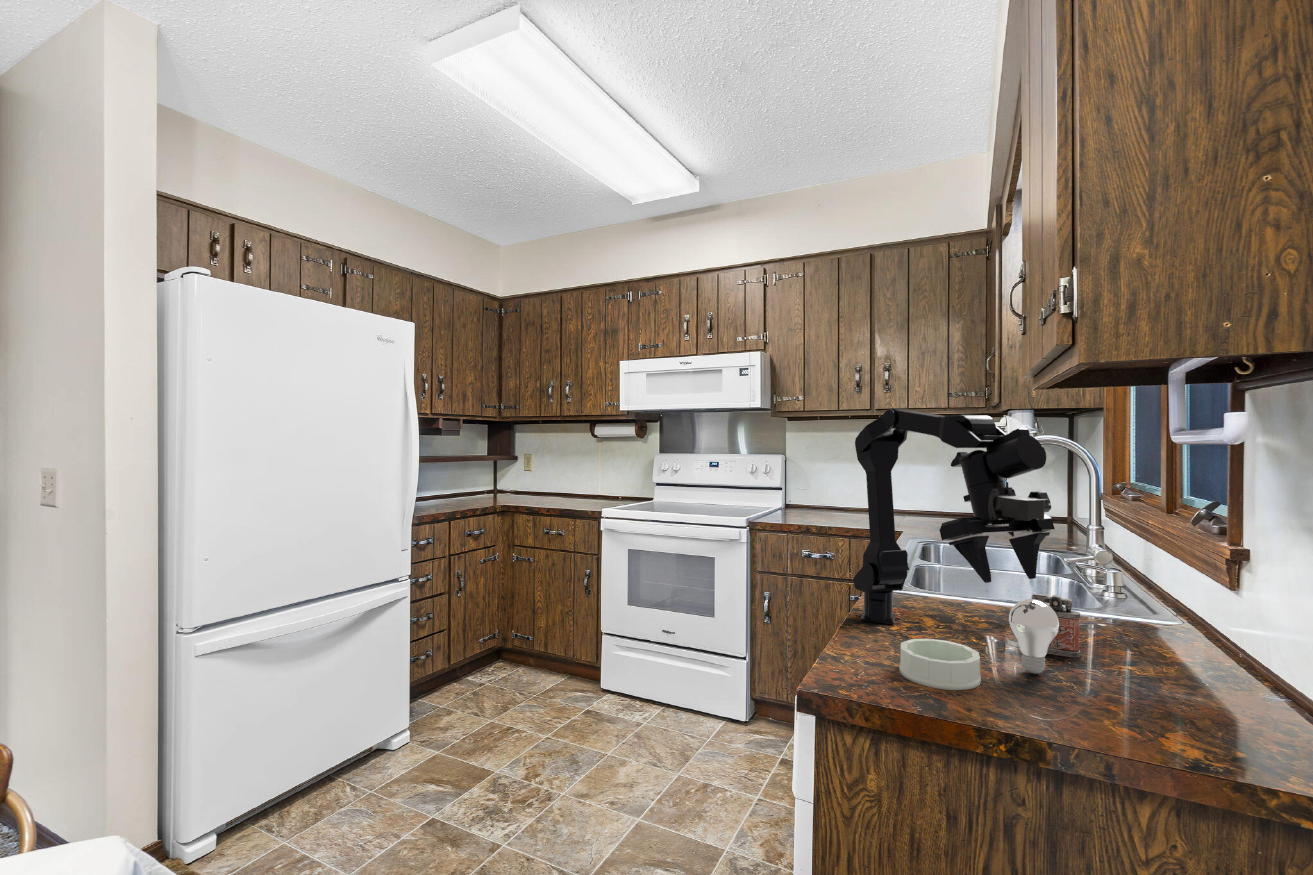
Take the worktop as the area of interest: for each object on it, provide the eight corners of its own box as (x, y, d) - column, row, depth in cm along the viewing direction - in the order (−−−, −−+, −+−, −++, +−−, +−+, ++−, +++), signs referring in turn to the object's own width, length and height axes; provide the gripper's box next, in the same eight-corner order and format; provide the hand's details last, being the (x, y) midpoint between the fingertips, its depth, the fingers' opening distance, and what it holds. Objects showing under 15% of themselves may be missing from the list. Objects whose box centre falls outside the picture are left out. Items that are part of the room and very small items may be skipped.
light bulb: (1066, 683, 97) (1067, 606, 97) (1017, 680, 99) (1017, 603, 99) (1048, 667, 104) (1048, 595, 104) (1002, 664, 105) (1002, 592, 105)
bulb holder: (900, 658, 108) (900, 634, 108) (977, 668, 103) (977, 644, 103) (898, 682, 97) (898, 656, 97) (983, 695, 93) (984, 668, 93)
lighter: (1080, 653, 111) (1080, 596, 111) (1080, 658, 109) (1080, 600, 109) (1027, 644, 116) (1027, 590, 116) (1026, 649, 113) (1026, 594, 113)
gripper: (978, 473, 95) (1006, 578, 90) (1069, 472, 101) (1099, 570, 96) (927, 491, 105) (950, 586, 100) (1013, 489, 111) (1038, 579, 106)
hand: (1010, 580), depth 101 cm, fingers open, 9 cm apart
